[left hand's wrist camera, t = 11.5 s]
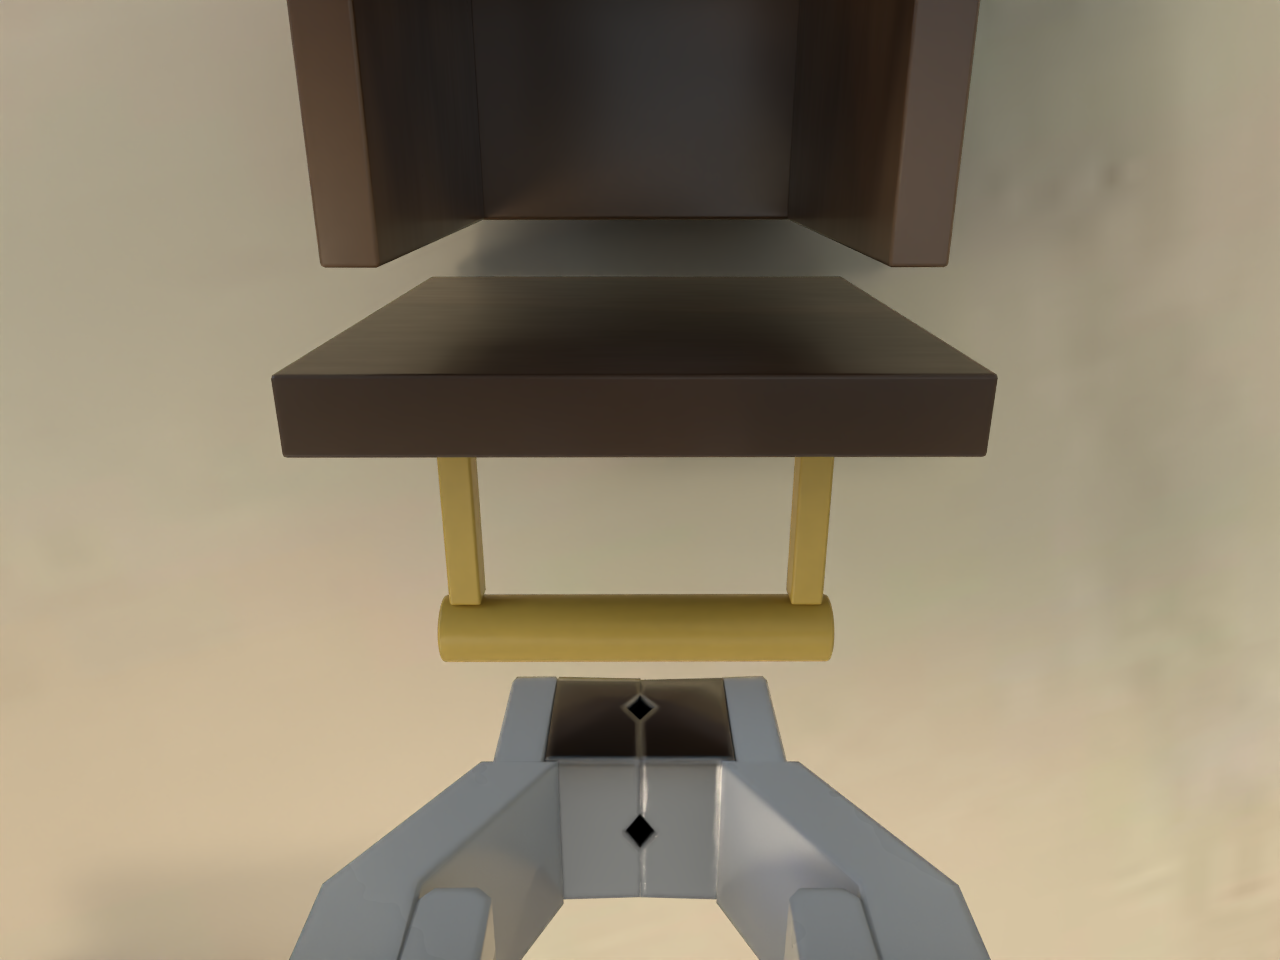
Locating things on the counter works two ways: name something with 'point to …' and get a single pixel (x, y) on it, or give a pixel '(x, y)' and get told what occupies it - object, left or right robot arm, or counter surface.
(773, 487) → the counter surface
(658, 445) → the drawer
